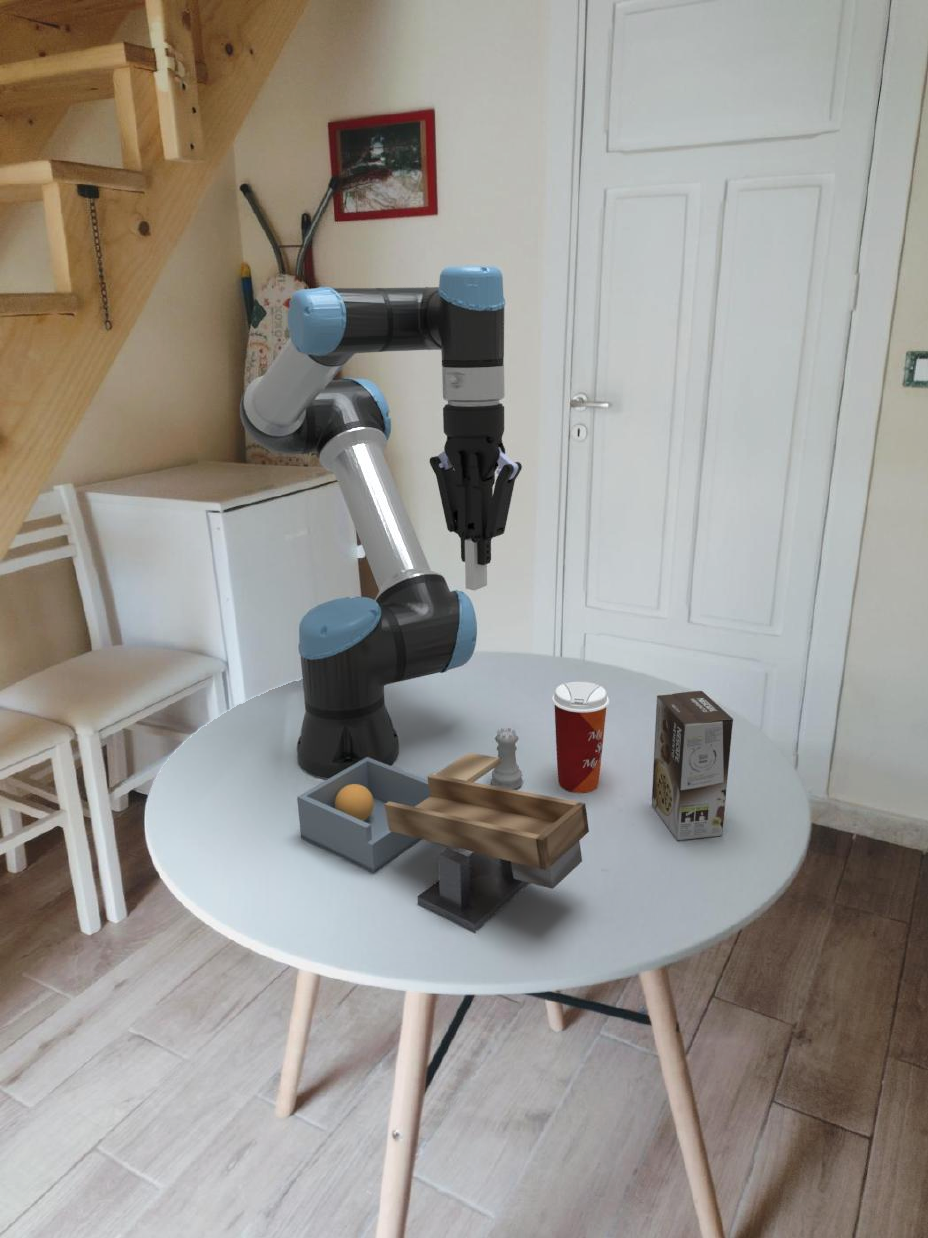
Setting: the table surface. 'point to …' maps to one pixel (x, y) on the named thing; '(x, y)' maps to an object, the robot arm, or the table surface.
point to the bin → (350, 835)
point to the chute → (496, 821)
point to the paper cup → (579, 734)
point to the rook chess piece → (507, 761)
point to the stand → (470, 888)
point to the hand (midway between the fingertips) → (476, 586)
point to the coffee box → (691, 764)
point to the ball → (355, 801)
